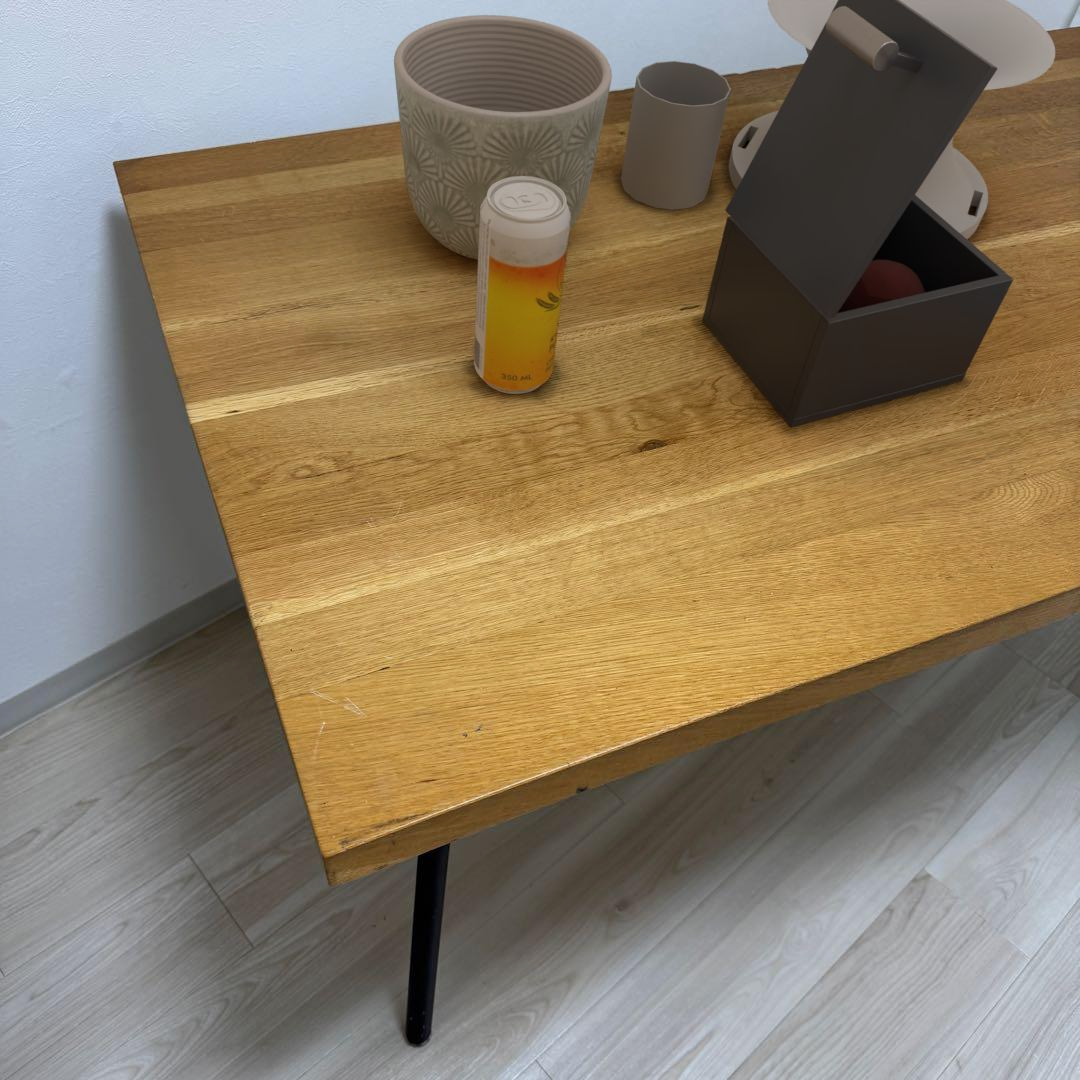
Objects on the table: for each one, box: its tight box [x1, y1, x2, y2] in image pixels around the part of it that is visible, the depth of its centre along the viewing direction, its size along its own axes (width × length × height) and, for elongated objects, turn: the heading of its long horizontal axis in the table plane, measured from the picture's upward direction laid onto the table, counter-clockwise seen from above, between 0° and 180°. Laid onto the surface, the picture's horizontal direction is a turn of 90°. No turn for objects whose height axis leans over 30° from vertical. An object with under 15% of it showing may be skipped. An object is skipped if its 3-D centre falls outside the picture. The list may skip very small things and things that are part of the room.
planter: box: [393, 14, 613, 261], centre depth 85 cm, size 17×17×15 cm
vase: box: [728, 0, 1056, 240], centre depth 96 cm, size 25×25×16 cm
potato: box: [838, 260, 926, 313], centre depth 82 cm, size 7×8×7 cm
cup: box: [620, 60, 732, 211], centre depth 95 cm, size 8×8×10 cm
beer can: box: [473, 176, 571, 395], centre depth 73 cm, size 6×6×15 cm
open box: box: [701, 195, 1014, 428], centre depth 80 cm, size 17×14×10 cm
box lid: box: [725, 0, 997, 318], centre depth 67 cm, size 17×14×5 cm
